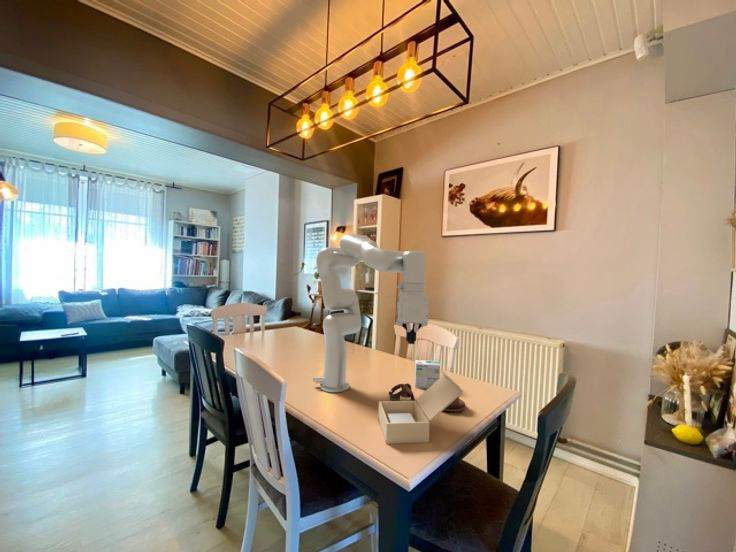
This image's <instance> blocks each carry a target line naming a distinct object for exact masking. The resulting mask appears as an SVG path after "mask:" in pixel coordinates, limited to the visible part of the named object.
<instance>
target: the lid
mask: <svg viewBox="0 0 736 552" xmlns="http://www.w3.org/2000/svg"><path fill="white" fill-rule="evenodd" d="M440 373H441V374H442V376H440V379H439V380H437V381H436V382H435V383H434V384H433V385H432V386H431V387H430V388H426V390H425V391H424V392H423V393H422V394H420V395H419V396H418V397H417V398H415V401H416V402H417V404H418V405H419V407H420V408H421V410H422V411H423V413H424V415H425V416H426V418H427V419H428V421H429V422H430V423H431V422H432V421H433V420H435V418H437V417H438V416H439V415H440V414H441V413H442V412H443V411H445V410H444V409H445V408H446V407H447V406H448V405H450V404H451V403H452V402H453V401H454V400H455V399H456V398H457V397H458V396H459V397H460V396H461V395H462V394H463V393H464V390H463V389H462V388H461V387H460V385H458V383H457V382H455V381H454V380H453V379H452V377H450V376H449V375H448V374H447V373H446V372H444V371H443V369H440Z"/></svg>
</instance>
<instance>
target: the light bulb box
mask: <svg viewBox="0 0 736 552" xmlns="http://www.w3.org/2000/svg"><path fill="white" fill-rule="evenodd" d="M414 363H415V364H414V366H415V367H414V388H415V389H417V388H418V389H428V388H430V387H431V386H432V385H433V384H434V383H435V382H436V381H437V380H439V379H440V378H441V374H440V373H441V371H440V370H441V365H440V363H439V360H428V359H427V360H423V359H415V362H414Z"/></svg>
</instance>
